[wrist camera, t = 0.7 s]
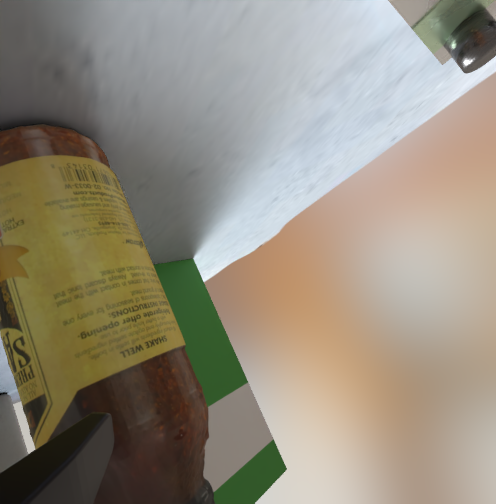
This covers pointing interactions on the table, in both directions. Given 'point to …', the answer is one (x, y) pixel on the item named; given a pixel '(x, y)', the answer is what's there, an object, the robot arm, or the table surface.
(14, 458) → the canister
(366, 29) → the table surface
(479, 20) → the fader console
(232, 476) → the hardback book
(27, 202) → the sauce bottle
